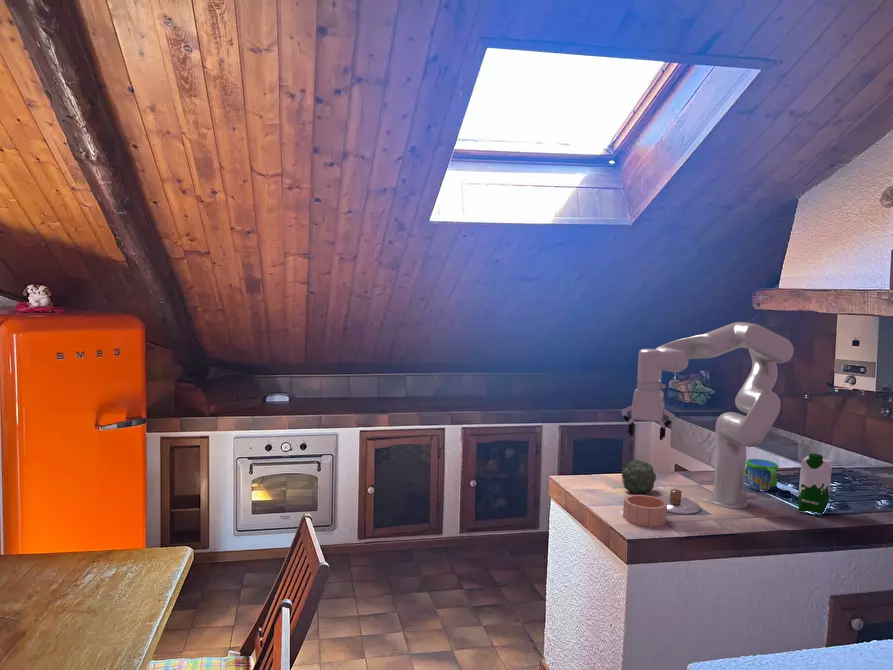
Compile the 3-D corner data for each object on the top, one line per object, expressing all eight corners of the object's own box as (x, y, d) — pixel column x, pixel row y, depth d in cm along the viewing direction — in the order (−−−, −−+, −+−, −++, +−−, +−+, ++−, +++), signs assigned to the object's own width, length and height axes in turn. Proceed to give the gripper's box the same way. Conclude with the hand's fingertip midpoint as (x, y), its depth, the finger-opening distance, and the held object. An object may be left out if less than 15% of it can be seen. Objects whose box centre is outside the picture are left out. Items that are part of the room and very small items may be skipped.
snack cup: (785, 496, 253) (787, 468, 252) (757, 495, 252) (759, 468, 251) (762, 483, 268) (764, 457, 267) (736, 482, 267) (738, 456, 266)
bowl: (654, 512, 229) (655, 494, 229) (673, 526, 216) (674, 508, 216) (616, 513, 227) (617, 495, 227) (633, 527, 214) (634, 508, 214)
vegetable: (647, 478, 261) (668, 471, 248) (631, 506, 256) (652, 500, 242) (621, 458, 261) (641, 449, 248) (605, 485, 256) (624, 478, 242)
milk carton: (794, 512, 235) (799, 453, 233) (801, 505, 242) (806, 449, 240) (823, 518, 230) (829, 458, 228) (830, 512, 236) (835, 454, 235)
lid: (685, 498, 244) (686, 483, 244) (709, 513, 229) (710, 498, 228) (642, 499, 242) (643, 484, 241) (663, 515, 226) (664, 499, 226)
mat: (686, 498, 245) (686, 497, 245) (711, 515, 228) (711, 514, 228) (640, 499, 242) (640, 498, 242) (662, 516, 225) (663, 515, 225)
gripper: (677, 387, 231) (675, 438, 232) (624, 382, 238) (622, 432, 240) (674, 390, 224) (671, 443, 226) (620, 385, 232) (617, 436, 233)
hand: (646, 437), depth 233 cm, fingers open, 9 cm apart
